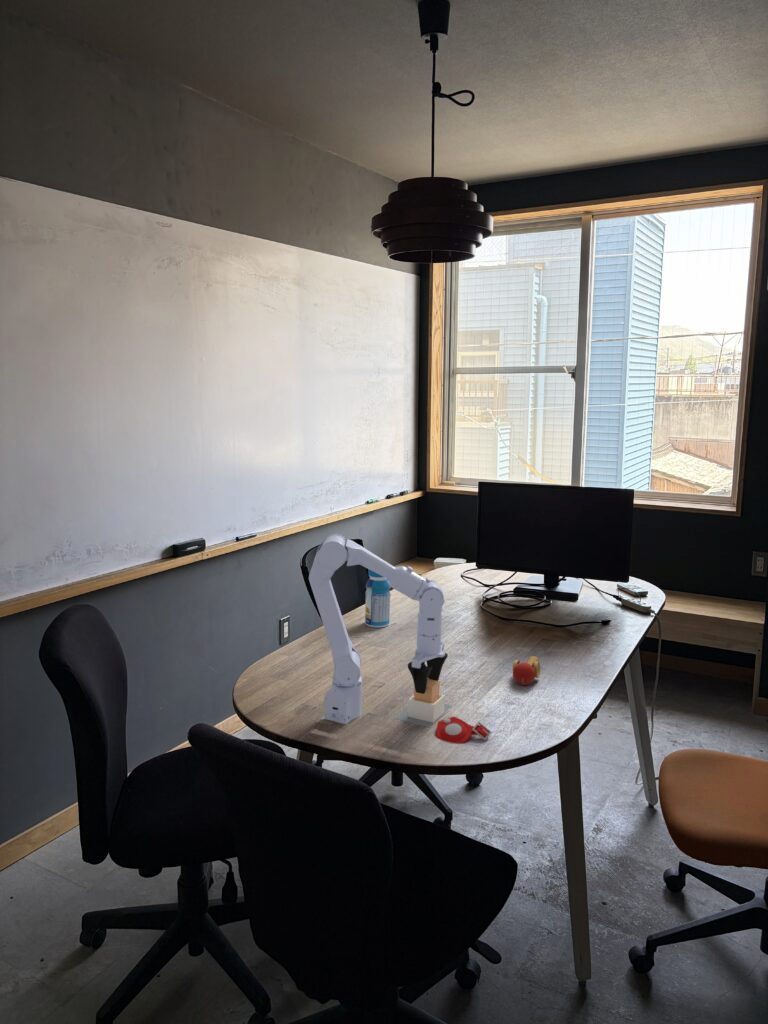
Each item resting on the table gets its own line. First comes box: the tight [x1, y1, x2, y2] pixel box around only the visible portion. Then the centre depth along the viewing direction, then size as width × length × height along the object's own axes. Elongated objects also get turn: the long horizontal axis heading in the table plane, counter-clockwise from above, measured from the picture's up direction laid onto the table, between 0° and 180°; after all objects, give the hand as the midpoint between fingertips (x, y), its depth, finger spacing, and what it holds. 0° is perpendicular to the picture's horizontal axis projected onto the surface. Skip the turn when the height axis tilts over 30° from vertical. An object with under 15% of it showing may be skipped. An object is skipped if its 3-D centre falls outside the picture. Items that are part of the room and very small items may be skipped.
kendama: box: [512, 655, 541, 686], centre depth 212 cm, size 8×6×18 cm
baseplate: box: [394, 703, 452, 728], centre depth 185 cm, size 14×9×1 cm, turn 153°
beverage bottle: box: [364, 569, 391, 629], centre depth 253 cm, size 8×8×20 cm
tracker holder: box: [435, 716, 492, 745], centre depth 174 cm, size 12×4×10 cm
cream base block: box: [407, 693, 446, 722], centre depth 183 cm, size 7×7×4 cm
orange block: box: [413, 679, 441, 704], centre depth 182 cm, size 5×5×4 cm
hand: (427, 687), depth 182 cm, fingers open, 7 cm apart
